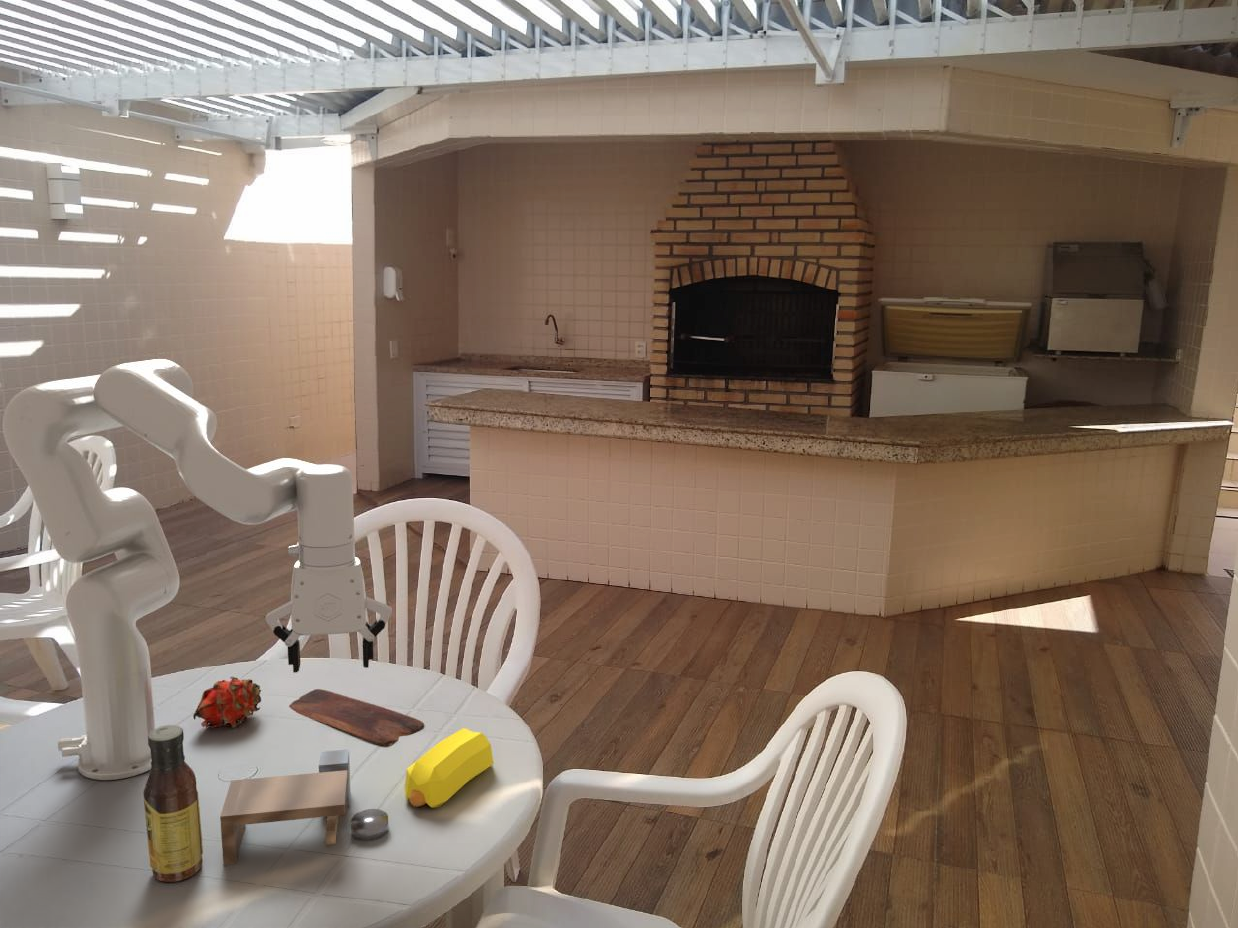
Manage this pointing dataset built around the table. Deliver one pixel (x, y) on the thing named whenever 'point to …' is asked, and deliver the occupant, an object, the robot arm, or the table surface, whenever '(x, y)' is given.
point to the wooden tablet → (356, 717)
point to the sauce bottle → (172, 808)
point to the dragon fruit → (228, 702)
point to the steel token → (369, 824)
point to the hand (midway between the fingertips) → (331, 666)
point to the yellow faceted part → (447, 768)
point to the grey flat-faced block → (340, 763)
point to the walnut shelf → (279, 803)
